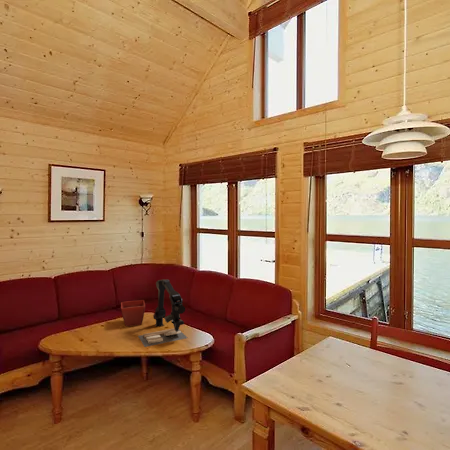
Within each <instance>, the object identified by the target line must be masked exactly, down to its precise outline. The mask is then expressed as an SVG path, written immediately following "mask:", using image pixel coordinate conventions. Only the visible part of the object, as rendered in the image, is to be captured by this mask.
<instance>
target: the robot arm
mask: <svg viewBox="0 0 450 450" xmlns="http://www.w3.org/2000/svg"><path fill="white" fill-rule="evenodd" d="M170 281H171V280H170V279H167V278H166V279H165V278H164V279H158V280H157V281H156V282H155V285H156V288H157V290H158V291H157V292H158V293H157V307H156V308H155V310H154V313H153V315H152V316H153V319H154V320H155V324H154V326H155V327H156V328H159V327H164V326H165V324H164V321H165V322H166V323H168V324H169V323H172V325H173V328H175V331H176V332H178V329H179V330H180V327H181V326H183V325H185V321H184V320H182V318H181V316H180V315H182V314H185V311H186V307H185V306H184V305H183V303H184V302H183V298H182V296H181V294H180V293H179V291H176V290H175V289H174V287H173V285H172V283H171V282H170ZM165 291H167V293H168V295H169V297H168V298H169V301H170V305H171V311H170V314H168V315H167V311H166V309H165V307H164V305H165V304H164V303H165Z"/></svg>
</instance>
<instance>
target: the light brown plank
mask: <svg viewBox="0 0 450 450" xmlns="http://www.w3.org/2000/svg"><path fill="white" fill-rule="evenodd" d="M170 332H175V328H174V327H173V328H170V329H163V330H159V331H158V330H157V331H152V332H148V333H147V332H146V333H143V334H142V335H143V337H144V338H145V339H146V337H150V336H155V335H160V336H162V335H164V333H170Z"/></svg>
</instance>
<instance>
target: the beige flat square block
mask: <svg viewBox="0 0 450 450" xmlns="http://www.w3.org/2000/svg"><path fill="white" fill-rule="evenodd" d="M181 332H182V331H181V330H180V331H178V332H176V331H175V332H170V333H164V336H168V335H173V334H178V333H181Z"/></svg>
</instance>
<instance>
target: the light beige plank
mask: <svg viewBox="0 0 450 450" xmlns="http://www.w3.org/2000/svg"><path fill="white" fill-rule="evenodd" d="M146 340H147V341H148V343H149V344H151V343H156V342H161V341H163V338H162V337H161V336H160V335H155V336H150V337H146Z"/></svg>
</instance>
